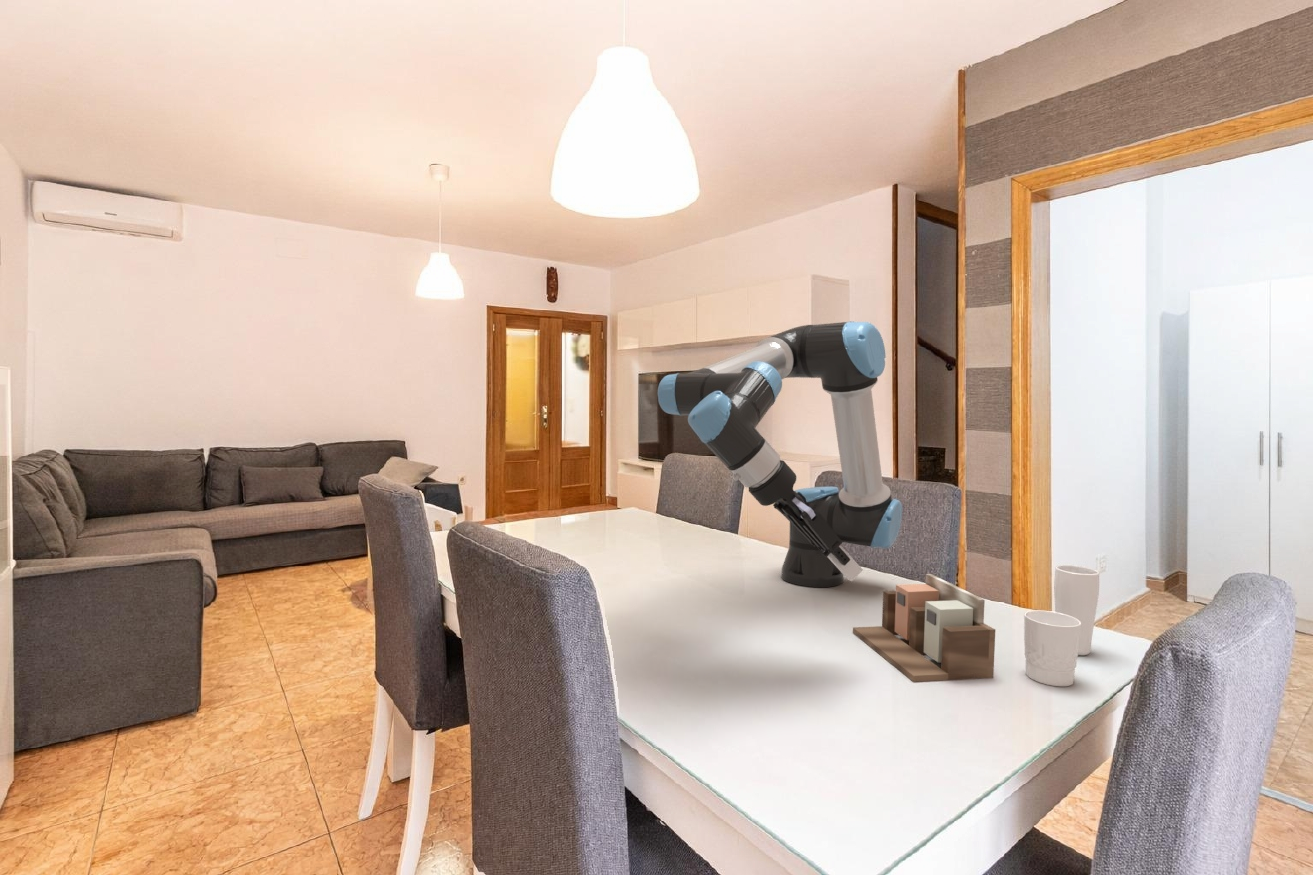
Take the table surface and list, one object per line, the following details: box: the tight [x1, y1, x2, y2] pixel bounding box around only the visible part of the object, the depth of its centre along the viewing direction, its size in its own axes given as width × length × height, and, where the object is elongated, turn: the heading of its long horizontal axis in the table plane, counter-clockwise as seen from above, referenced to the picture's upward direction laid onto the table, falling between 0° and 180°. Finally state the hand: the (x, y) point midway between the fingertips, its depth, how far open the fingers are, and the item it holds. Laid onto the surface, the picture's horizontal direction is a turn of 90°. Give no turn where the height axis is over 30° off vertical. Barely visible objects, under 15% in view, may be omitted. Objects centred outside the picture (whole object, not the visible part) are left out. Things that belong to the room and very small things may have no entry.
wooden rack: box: [852, 573, 996, 683], centre depth 115 cm, size 22×14×12 cm, turn 8°
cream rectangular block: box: [924, 600, 973, 663], centre depth 110 cm, size 4×6×9 cm
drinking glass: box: [1053, 564, 1100, 656], centre depth 117 cm, size 7×7×15 cm
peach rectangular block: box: [895, 583, 939, 641], centre depth 120 cm, size 4×6×9 cm
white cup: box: [1023, 609, 1081, 687], centre depth 105 cm, size 8×8×10 cm
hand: (855, 574), depth 108 cm, fingers closed
